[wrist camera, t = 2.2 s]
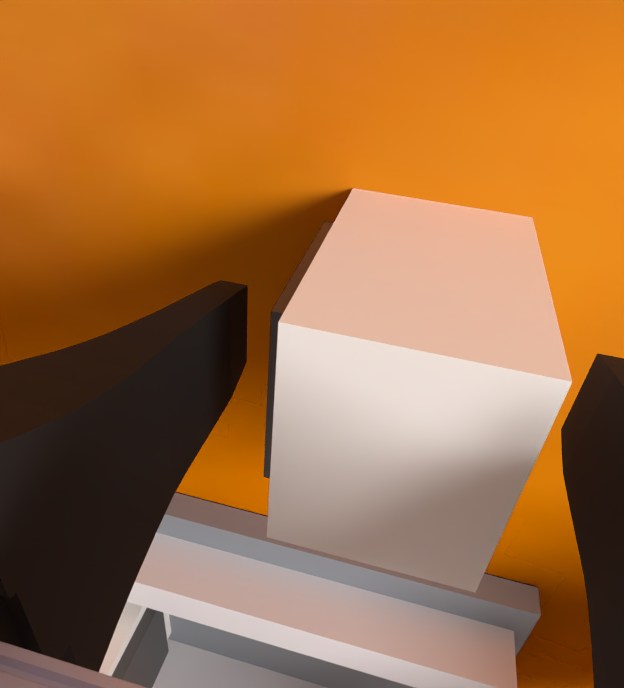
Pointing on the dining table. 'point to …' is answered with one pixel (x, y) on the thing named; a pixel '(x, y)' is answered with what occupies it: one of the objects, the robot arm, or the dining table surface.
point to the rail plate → (303, 615)
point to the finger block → (410, 385)
